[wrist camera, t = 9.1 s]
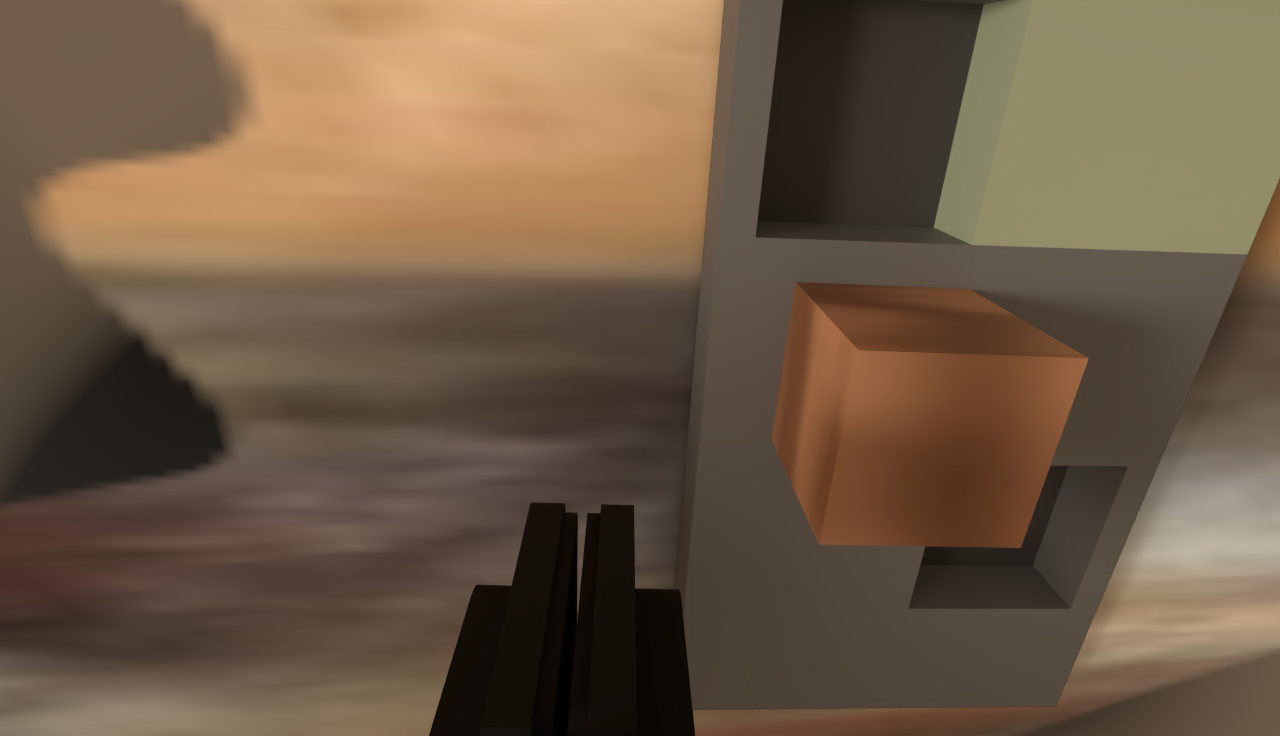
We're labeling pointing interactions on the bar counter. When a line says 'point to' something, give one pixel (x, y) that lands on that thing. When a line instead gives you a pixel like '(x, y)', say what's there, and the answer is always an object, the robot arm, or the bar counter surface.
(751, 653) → the deck
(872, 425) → the block
